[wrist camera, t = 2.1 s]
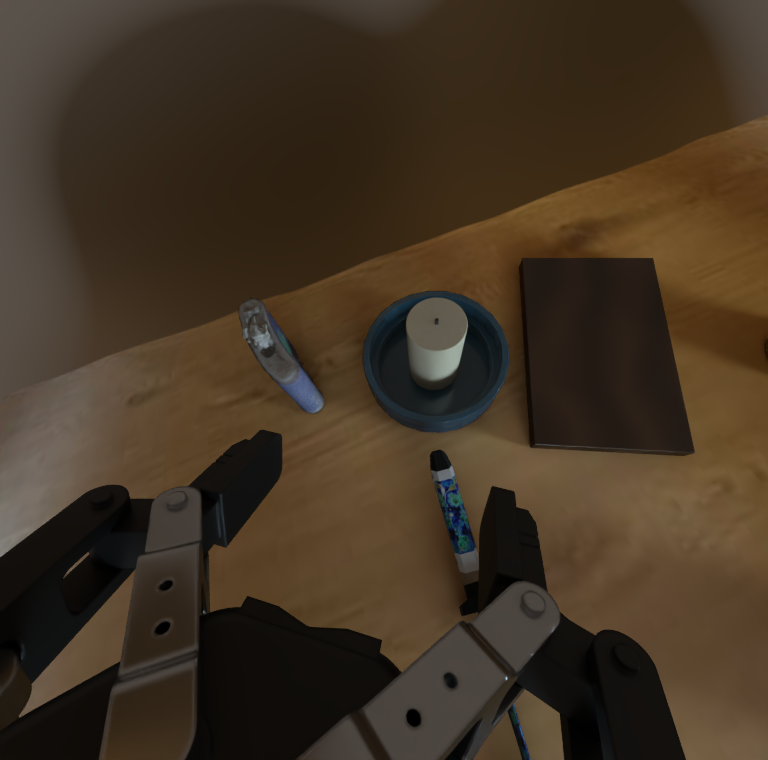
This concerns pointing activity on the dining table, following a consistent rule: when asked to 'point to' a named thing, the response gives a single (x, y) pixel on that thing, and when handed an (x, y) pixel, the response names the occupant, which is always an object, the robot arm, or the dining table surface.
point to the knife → (464, 551)
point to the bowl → (459, 399)
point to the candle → (435, 342)
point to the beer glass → (766, 347)
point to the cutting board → (600, 358)
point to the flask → (278, 355)
